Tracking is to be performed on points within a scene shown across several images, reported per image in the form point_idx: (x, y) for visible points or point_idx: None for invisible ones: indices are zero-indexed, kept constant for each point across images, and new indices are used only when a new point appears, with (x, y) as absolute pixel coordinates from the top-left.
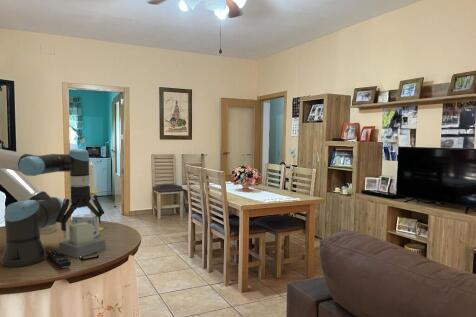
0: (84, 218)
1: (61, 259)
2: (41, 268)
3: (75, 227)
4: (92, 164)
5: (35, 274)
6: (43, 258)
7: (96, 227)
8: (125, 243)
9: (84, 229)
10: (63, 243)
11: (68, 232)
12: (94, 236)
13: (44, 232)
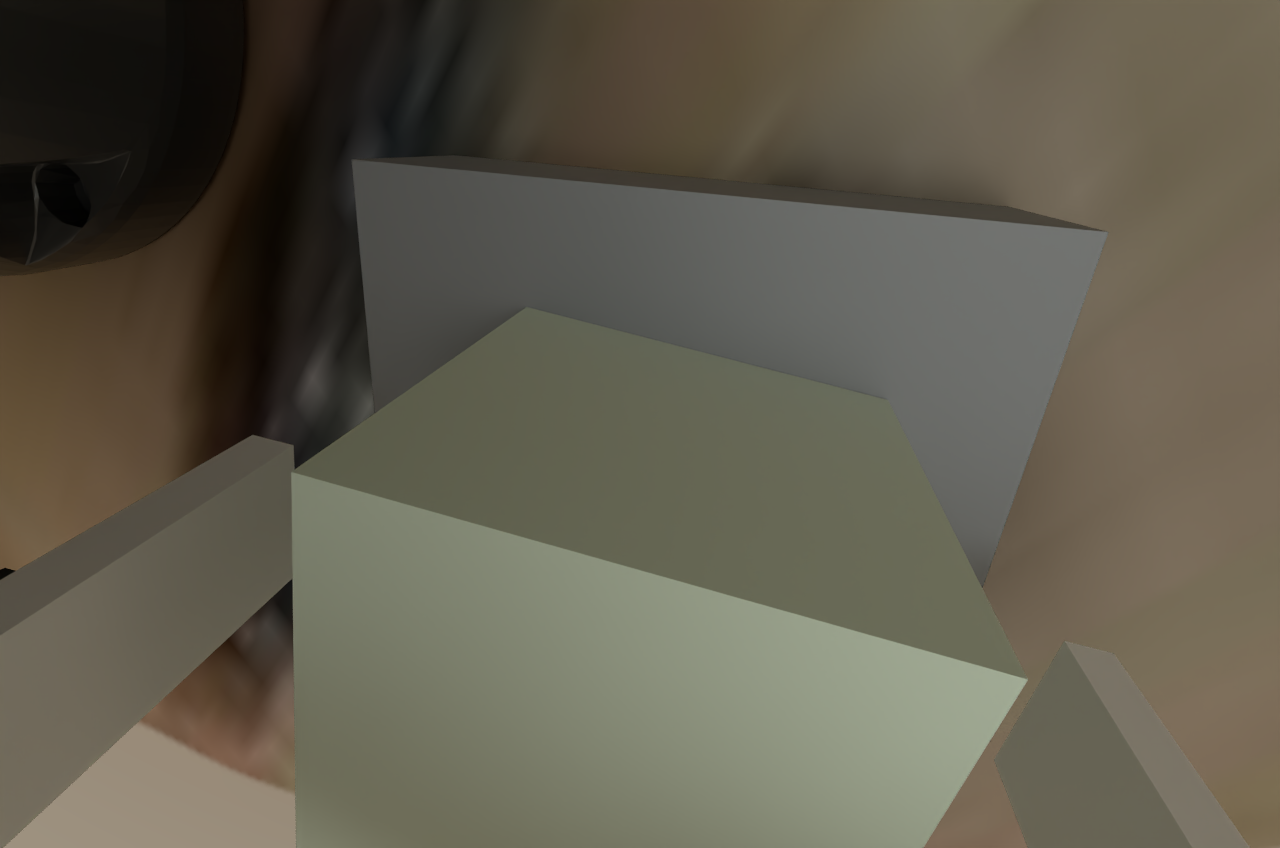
0: None
1: (335, 430)
2: (79, 467)
3: (300, 836)
4: None
5: (3, 546)
6: (150, 234)
7: (1057, 823)
8: (1262, 733)
9: None
10: (376, 305)
11: (194, 666)
12: None
13: None
